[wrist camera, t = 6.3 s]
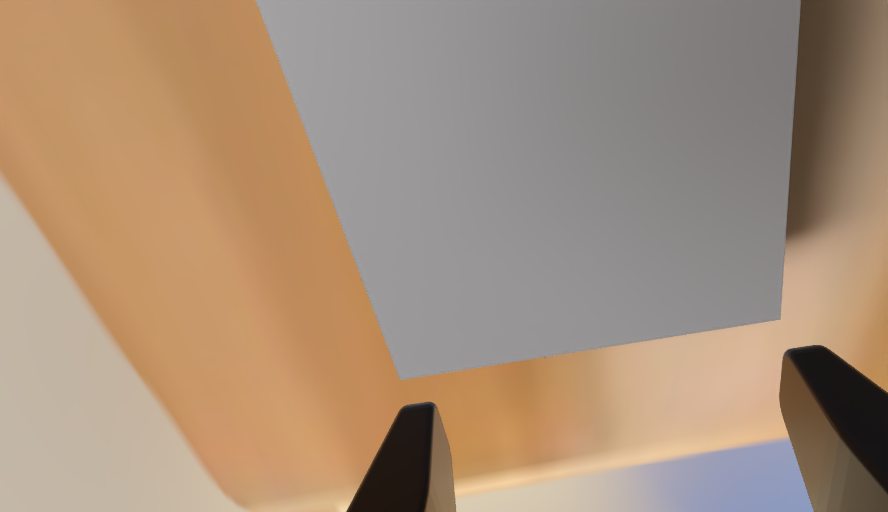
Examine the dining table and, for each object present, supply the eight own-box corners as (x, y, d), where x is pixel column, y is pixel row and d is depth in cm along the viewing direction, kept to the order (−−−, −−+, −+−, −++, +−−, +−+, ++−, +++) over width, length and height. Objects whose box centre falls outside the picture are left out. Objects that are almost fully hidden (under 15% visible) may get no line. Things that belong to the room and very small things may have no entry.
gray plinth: (763, -410, 14) (828, -419, 12) (746, 253, 24) (780, 319, 22) (206, -254, 16) (166, -236, 13) (403, 311, 25) (399, 379, 23)
